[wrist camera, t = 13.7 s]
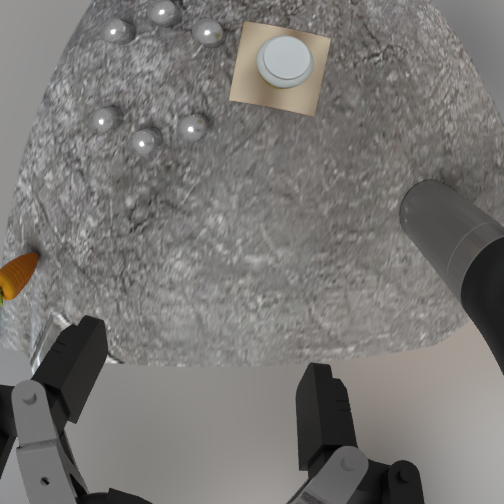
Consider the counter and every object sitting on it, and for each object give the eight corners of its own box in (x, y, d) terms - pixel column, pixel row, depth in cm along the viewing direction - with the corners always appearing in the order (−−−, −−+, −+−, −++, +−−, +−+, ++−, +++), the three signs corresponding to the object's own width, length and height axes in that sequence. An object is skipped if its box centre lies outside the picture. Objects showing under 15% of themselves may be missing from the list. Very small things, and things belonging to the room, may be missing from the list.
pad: (329, 39, 30) (330, 38, 29) (313, 116, 34) (314, 116, 34) (244, 22, 29) (244, 21, 29) (229, 100, 34) (228, 100, 33)
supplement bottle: (298, 94, 33) (309, 95, 24) (252, 82, 32) (247, 78, 24) (310, 53, 30) (325, 40, 22) (264, 40, 30) (264, 22, 21)
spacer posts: (231, 9, 28) (227, 0, 25) (204, 157, 37) (198, 164, 34) (119, 8, 28) (105, 1, 24) (101, 145, 37) (86, 151, 33)
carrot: (25, 239, 44) (-28, 286, 31) (46, 243, 44) (-8, 295, 31) (30, 263, 46) (-19, 313, 33) (50, 269, 47) (2, 322, 33)
